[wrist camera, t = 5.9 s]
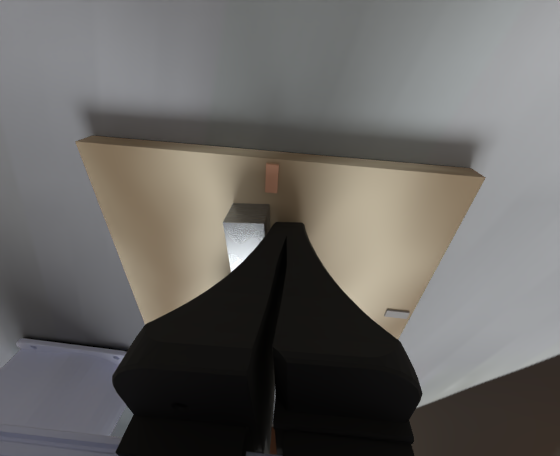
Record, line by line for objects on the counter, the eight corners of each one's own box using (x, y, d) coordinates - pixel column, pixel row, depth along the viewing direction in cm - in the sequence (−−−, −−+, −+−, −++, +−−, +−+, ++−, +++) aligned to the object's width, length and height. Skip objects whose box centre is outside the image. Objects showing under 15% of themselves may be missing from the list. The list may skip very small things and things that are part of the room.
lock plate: (164, 346, 20) (140, 393, 17) (93, 135, 11) (18, 160, 8) (370, 371, 19) (381, 425, 16) (470, 168, 10) (533, 208, 7)
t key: (293, 359, 17) (292, 384, 16) (236, 355, 18) (231, 378, 16) (297, 204, 11) (295, 224, 9) (206, 202, 11) (192, 221, 10)
